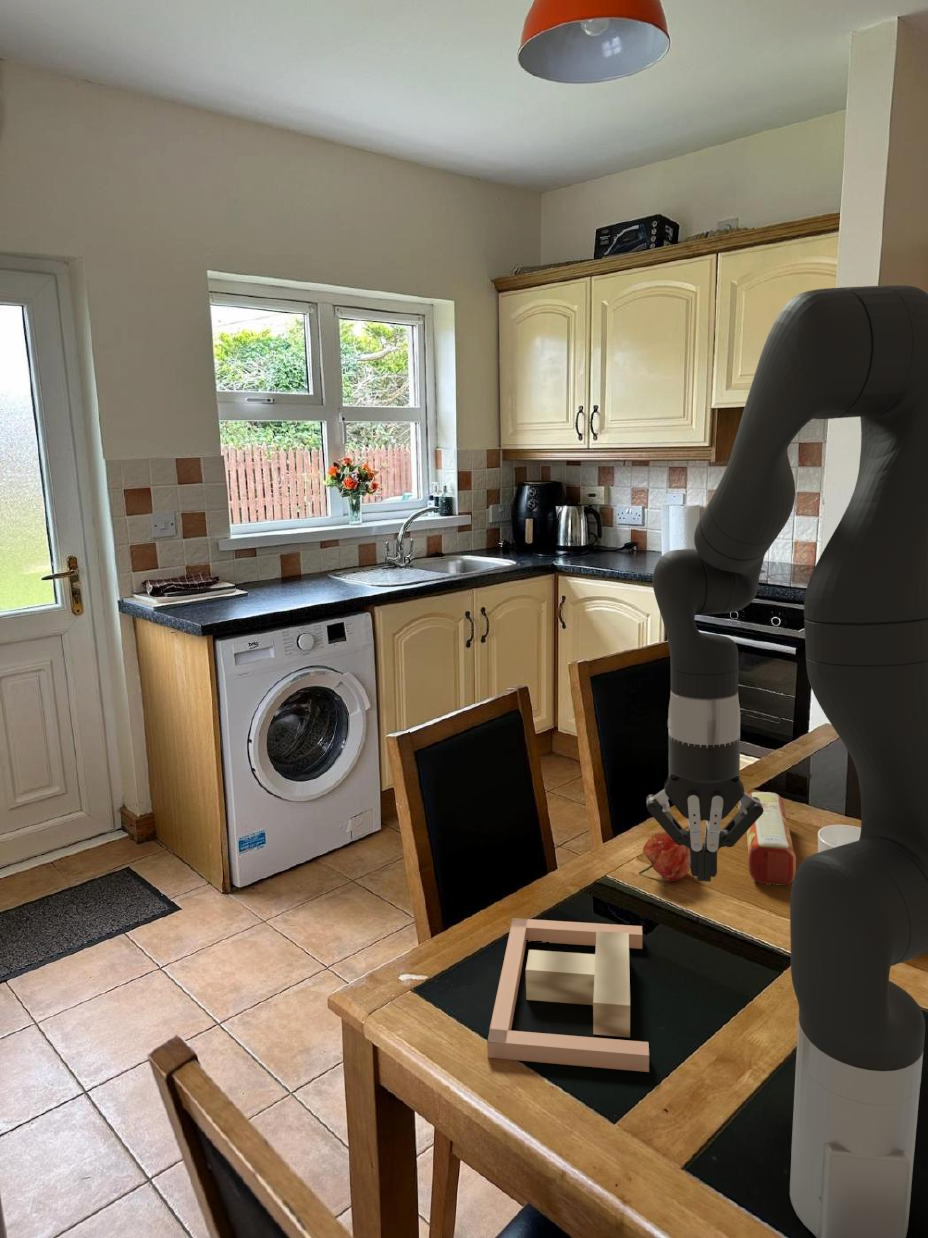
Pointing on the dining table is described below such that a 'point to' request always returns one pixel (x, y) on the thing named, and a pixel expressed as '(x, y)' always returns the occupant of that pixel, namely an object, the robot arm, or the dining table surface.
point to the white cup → (837, 836)
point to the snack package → (771, 843)
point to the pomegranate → (667, 857)
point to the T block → (587, 981)
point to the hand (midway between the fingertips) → (703, 878)
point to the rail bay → (554, 1045)
